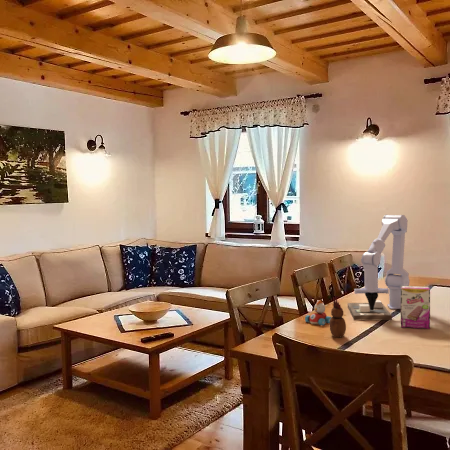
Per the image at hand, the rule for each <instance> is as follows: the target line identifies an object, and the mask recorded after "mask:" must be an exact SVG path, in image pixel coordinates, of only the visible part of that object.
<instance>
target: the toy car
mask: <svg viewBox="0 0 450 450" xmlns="http://www.w3.org/2000/svg"><path fill="white" fill-rule="evenodd" d="M313 310H314V313H311V314H310V315H309V314H307V315H305V317H304V320H305V322H306V323H310V324H311V325H319V326H325V324H330V319H331V317H332V316H329V315H328V316H327V313H326V312H325V311H326V306H325V304H324V303H323V301H322V299H319V300H318V301H317V302H316V303H315V305H314V307H313Z"/></svg>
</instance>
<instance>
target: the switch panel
mask: <svg viewBox="0 0 450 450" xmlns="http://www.w3.org/2000/svg"><path fill="white" fill-rule="evenodd" d="M359 304H368V305H369V303H368V302H347V308H348V311H349V312H350V315H351V317H352V319H353V321H392V320H393V316H392V314H391V312H390V311H389V310H388V309H387V307H386V306H385V305H384V304H383V303H382V307H380V308H374V310H370V312H360V310H359Z"/></svg>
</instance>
